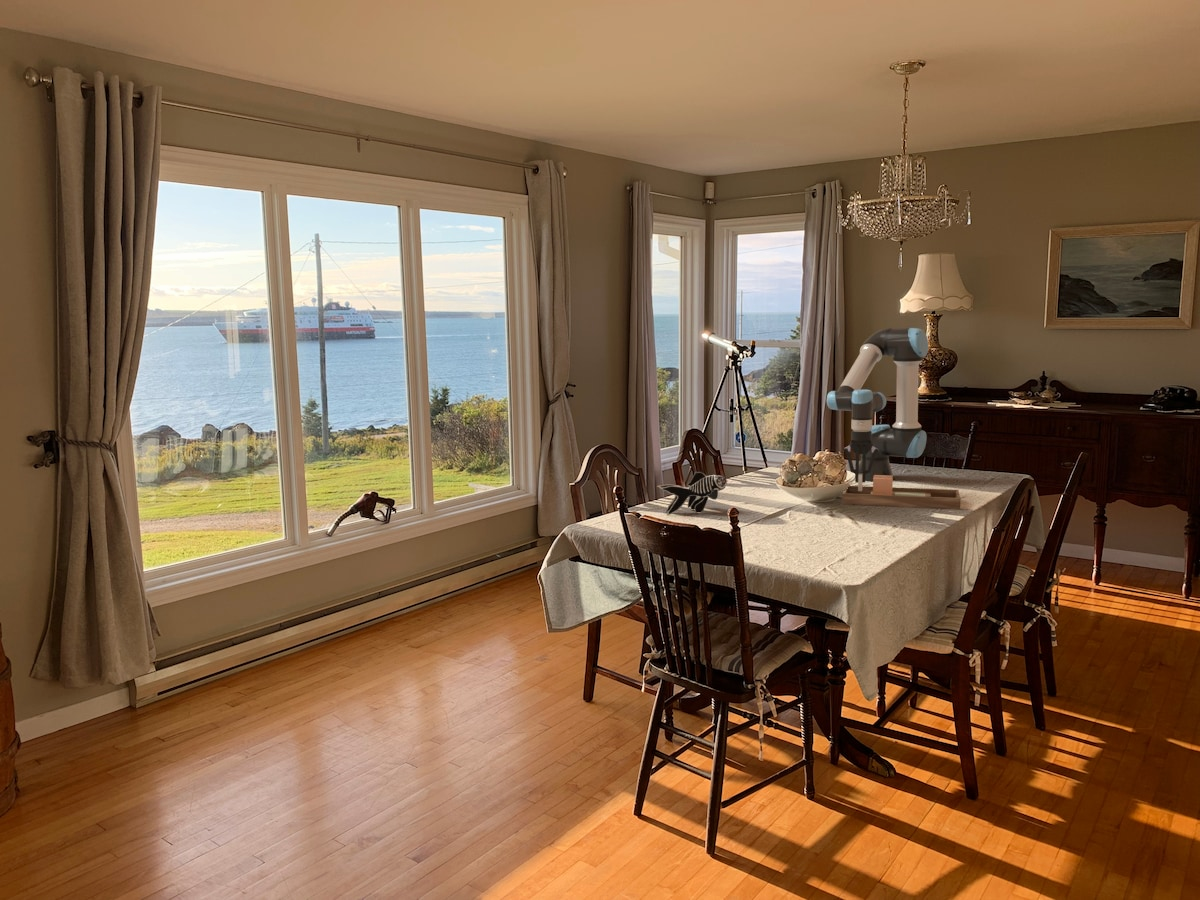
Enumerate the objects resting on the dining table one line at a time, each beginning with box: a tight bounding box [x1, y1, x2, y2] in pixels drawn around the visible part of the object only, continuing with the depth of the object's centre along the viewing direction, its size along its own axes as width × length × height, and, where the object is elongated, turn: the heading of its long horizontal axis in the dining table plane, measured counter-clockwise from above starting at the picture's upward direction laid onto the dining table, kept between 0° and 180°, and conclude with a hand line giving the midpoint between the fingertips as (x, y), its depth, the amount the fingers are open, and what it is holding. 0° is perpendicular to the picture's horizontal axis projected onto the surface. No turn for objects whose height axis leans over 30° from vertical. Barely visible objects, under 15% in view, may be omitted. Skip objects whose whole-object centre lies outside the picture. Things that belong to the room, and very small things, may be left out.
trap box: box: [841, 485, 962, 510], centre depth 344 cm, size 16×42×4 cm, turn 71°
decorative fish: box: [656, 471, 728, 516], centre depth 336 cm, size 16×26×15 cm, turn 102°
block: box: [872, 475, 894, 495], centre depth 345 cm, size 7×7×7 cm
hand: (860, 490), depth 348 cm, fingers closed
